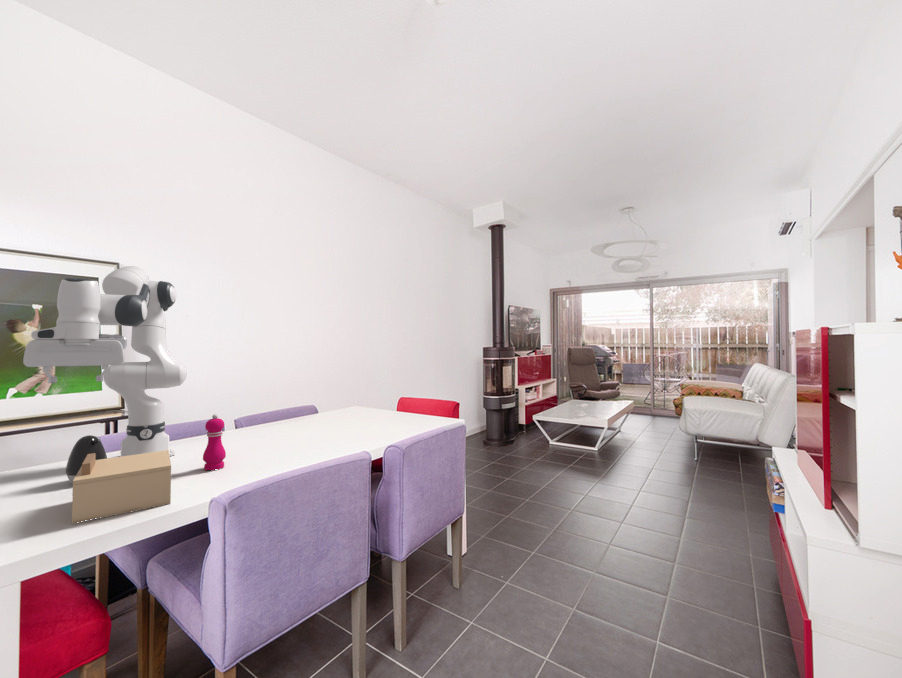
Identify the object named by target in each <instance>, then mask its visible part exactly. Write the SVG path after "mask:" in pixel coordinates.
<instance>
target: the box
mask: <svg viewBox="0 0 902 678" xmlns="http://www.w3.org/2000/svg"><path fill="white" fill-rule="evenodd" d="M171 485H172V468H171V469H168V470H162V471H156V472H149V473H143V474H137V475H131V476H125V477H119V478H113V479H107V480H101V481H95V482H89V483H83V484H76V485H73V484H72V502H71V503H72V504H71V506H72V508H71V524H72V523H77V522H81V521H85V520H90V519H95V518H100V517H105V518H107V517H106V516H110V517H112V516H111V515H115V516H117V515H116V514H119V515H122V514H121V513H124V514H127V513H126V512H129V513H132V512H131V511H134V512H137V511H136V510H138V511H142V510H141V509H143V510H148V509H151V508H150V507H153V508H156V506H157V507H160V505H162V506H166V505H165V504H167V505H170V504H171V501H172V500H171V497H172V496H171V493H172V491H171V488H172V487H171ZM169 503H170V504H169ZM147 508H148V509H147ZM100 519H101V518H100ZM81 523H82V522H81ZM77 524H78V523H77Z"/></svg>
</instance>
